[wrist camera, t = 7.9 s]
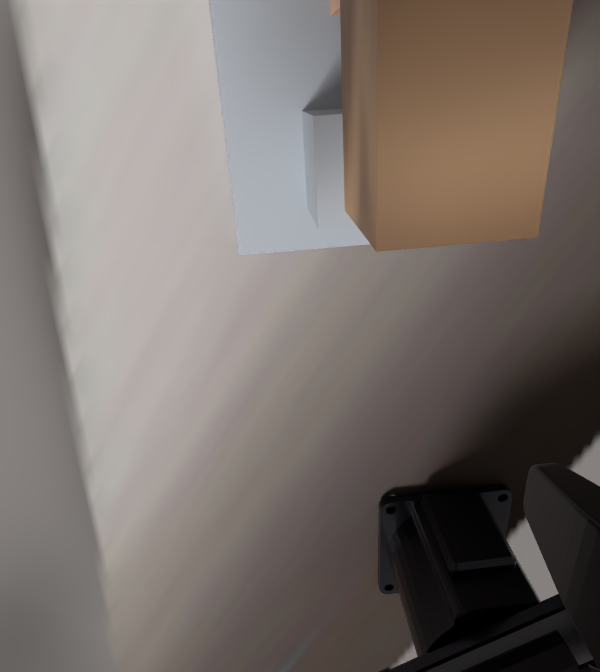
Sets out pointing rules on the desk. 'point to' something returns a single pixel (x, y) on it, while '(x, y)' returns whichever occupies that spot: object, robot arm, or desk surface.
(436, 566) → the robot arm
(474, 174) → the walnut bar
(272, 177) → the pale grey flat fixture
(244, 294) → the desk surface
